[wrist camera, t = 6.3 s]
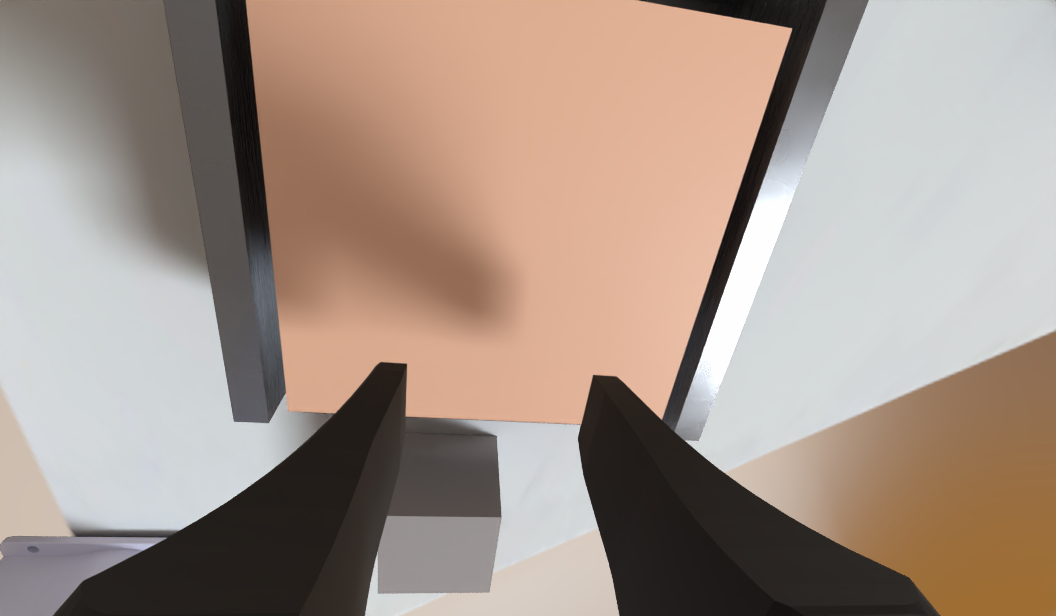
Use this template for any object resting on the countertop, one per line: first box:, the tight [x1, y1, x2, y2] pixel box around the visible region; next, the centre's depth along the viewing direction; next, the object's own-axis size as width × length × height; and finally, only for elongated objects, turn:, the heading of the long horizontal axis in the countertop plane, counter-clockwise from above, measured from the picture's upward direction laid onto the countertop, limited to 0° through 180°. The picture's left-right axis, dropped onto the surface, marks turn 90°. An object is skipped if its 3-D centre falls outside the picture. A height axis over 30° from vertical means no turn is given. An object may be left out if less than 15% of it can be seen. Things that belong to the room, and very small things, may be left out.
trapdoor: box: [246, 0, 792, 424], centre depth 13 cm, size 12×15×2 cm
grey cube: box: [378, 433, 501, 594], centre depth 23 cm, size 5×5×5 cm
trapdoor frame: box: [163, 0, 869, 441], centre depth 17 cm, size 15×19×6 cm
